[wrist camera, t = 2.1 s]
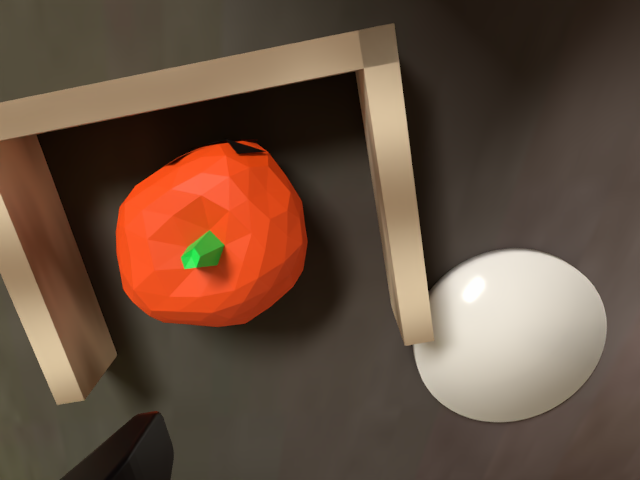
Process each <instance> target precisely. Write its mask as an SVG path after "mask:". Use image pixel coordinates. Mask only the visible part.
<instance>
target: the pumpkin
mask: <svg viewBox="0 0 640 480" xmlns="http://www.w3.org/2000/svg"><path fill="white" fill-rule="evenodd" d="M221 141H222V140H221ZM252 141H256V140H252V139H242V140H228V139H226V141H222V142H219V141H217V142H216V143H215V142H212V144H211V143H207V144H208V145H203V146H199V147H195V148H198V149H195V150H192V151H190V152H189V153H186V154H184V155H182V156H180V157H178V158H176V159H174V160H173V161H171V162H169V163H167V165H166V164H165V166H164V165H163V166H164V167H162V166H161V167H162V168H161V169H159V170H158V171H156V172H155V173H154V174H152V175H151V176H149V177H148V178H146V179H145V180H143V181H142V182H140V183H139V184H137V185H136V186H135V187H134V188H133V190H132V191H131V192H130V194H129V195H128V196H127V198H126V199H125V200H124V202H123V203H122V205H121V206H120V208H119V215H118V222H117V228H116V251H117V258H118V264H119V269H120V274H121V280H122V285H123V290H124V291H125V293H126V294H127V295H128V297H129V298H130V299H131V301H132V302H133V303H135V304H136V305H137V306H138V307H139V308H140V309H141V310H143V311H144V312H145V313H146V314H148V315H149V316H150V317H153V318H155V319H157V320H160V321H162V322H165V323H178V324H191V325H201V326H211V327H222V326H230V325H238V324H245V323H247V322H248V321H250V320H251V319H253V318H254V317H256V316H257V315H259V314H260V313H262V312H263V311H265V310H266V309H268V308H269V307H271V306H272V305H273V304H274V303H275V302H276V301H278V300H279V299H280V298H281V297H282V296H283V295H284V294H286V293H287V292H288V291H289V290H290V289H291V288H292V287H293V286H294V285H295V283H296V281H297V280H298V278H299V276H300V275H301V273H302V271H303V268H304V262H305V256H306V250H307V243H308V240H307V234H306V228H305V221H304V213H303V205H302V200H301V199H300V197H299V196H298V194H297V192H296V191H295V189H294V188H293V186H292V184H291V183H290V181H289V180H288V178H287V176H286V175H285V174H284V172H283V171H282V170H281V168H280V167H279V166H278V164H277V163H276V162H275V160H274V159H273V158H272V156H271V155H270V154H269V152H267V151H266V150H265V149H263V148H262V147H261V146H260V145H258V144H257V143H252ZM191 149H192V148H191ZM181 152H182V151H181Z"/></svg>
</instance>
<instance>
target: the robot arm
mask: <svg viewBox="0 0 640 480" xmlns="http://www.w3.org/2000/svg"><path fill="white" fill-rule="evenodd" d="M173 458H174V452H173V446H172V442H171V439H170V436H169V433H168V430H167V427H166V425H165V422H164V419H163V416H162V415H161V413H159V412H157V411H154V412H148V413H141V414H138V415H136V416H134V417H133V418H132V419H131V420H129V421H128V422H127V423H126V424H125V425H124V426H122V427H121V428H120V429H119V430H118V431H117V432H115V433H114V434H113V435H112V436H111V437H110V438H108V439H107V440H106V441H105V442H104V443H102V444H101V445H100V446H99V447H98V448H97V449H95V450H94V451H93V452H92V453H91V454H90V455H88V456H87V457H86V458H85V459H84V460H82V461H81V462H80V463H79V464H78V465H77V466H75V467H74V468H73V469H72V470H71V471H70V472H68V473H67V474H66V475H65V476H64V477H62V478H61V479H60V480H170V479H171V472H172V465H173Z"/></svg>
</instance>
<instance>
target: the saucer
mask: <svg viewBox="0 0 640 480" xmlns="http://www.w3.org/2000/svg"><path fill="white" fill-rule="evenodd" d="M428 294H429V302H430V310H431V318H432V326H433V334H434V341H431V342H425V343H419V344H413V345H412V347H413V354H414V358H415V362H416V364H417V367H418V370H419V372H420V375H421V378H422V380H423V382H424V383H425V385H426V387H427V388H428V390H429V391H430V392H431V393H432V395H433V396H434V397H435V398H436V399H437V400H438V401H439V402H440V403H442V404H443V405H444V406H446V407H447V408H449V409H450V410H452V411H454V412H456V413H458V414H460V415H462V416H465V417H468V418H471V419H475V420H480V421H487V422H510V421H518V420H523V419H527V418H530V417H534V416H537V415H540V414H542V413H544V412H546V411H549V410H551V409H552V408H554V407H556V406H558V405H559V404H561V403H562V402H564V401H565V400H567V399H568V398H569V397H571V396H572V395H573V394H574V393H575V392H576V391H577V390H578V389H580V387H581V386H582V385H583V384H584V383H585V382H586V381H587V380H588V378H589V377H590V375H591V374H592V372H593V371H594V369H595V367H596V366H597V364H598V362H599V360H600V357H601V355H602V352H603V349H604V345H605V340H606V332H607V322H606V314H605V309H604V305H603V303H602V300H601V298H600V295H599V294H598V292H597V291H596V289H595V287H594V286H593V285H592V283H591V282H590V281H589V280H588V279H587V278H586V277H585V276H584V275H583V274H582V273H581V272H579V271H578V270H577V269H575V268H574V267H573V266H571V265H570V264H568V263H567V262H565V261H563V260H562V259H560V258H559V257H556V256H554V255H552V254H549V253H547V252H543V251H539V250H535V249H528V248H505V249H497V250H493V251H489V252H485V253H482V254H479V255H476V256H474V257H472V258H470V259H468V260H466V261H464V262H462V263H460V264H458V265H457V266H455V267H454V268H452V269H451V270H450V271H448V272H447V273H446V274H445V275H444V276H443V277H441V278H440V279H439V280H438V281H437V283H436V284H435V285H434V286H433V287H432V288H431V289H430V291H429V292H428Z"/></svg>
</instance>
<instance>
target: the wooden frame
mask: <svg viewBox="0 0 640 480" xmlns="http://www.w3.org/2000/svg"><path fill="white" fill-rule="evenodd" d="M350 72H355V73H356V80H357V86H358V93H359V99H360V105H361V112H362V118H363V125H364V131H365V138H366V144H367V151H368V157H369V164H370V170H371V177H372V183H373V190H374V196H375V203H376V209H377V216H378V222H379V229H380V235H381V241H382V248H383V254H384V261H385V267H386V274H387V280H388V287H389V293H390V300H391V306H392V310H393V313H394V316H395V318H396V321H397V324H398V327H399V330H400V333H401V336H402V339H403V341H404V344H405V346H408V345H413V344H419V343H425V342H431V341H434V334H433V326H432V318H431V310H430V302H429V294H428V287H427V279H426V271H425V263H424V255H423V247H422V239H421V231H420V223H419V215H418V207H417V199H416V191H415V184H414V176H413V168H412V160H411V152H410V144H409V136H408V128H407V120H406V112H405V104H404V96H403V88H402V81H401V73H400V65H399V57H398V49H397V41H396V33H395V25H394V23H392V24H387V25H382V26H377V27H372V28H367V29H362V30H357V31H352V32H347V33H342V34H338V35H333V36H328V37H323V38H318V39H313V40H308V41H303V42H298V43H293V44H288V45H283V46H278V47H273V48H268V49H263V50H258V51H253V52H248V53H243V54H238V55H234V56H229V57H224V58H219V59H214V60H209V61H204V62H199V63H194V64H189V65H184V66H179V67H174V68H169V69H164V70H159V71H154V72H149V73H144V74H139V75H134V76H130V77H125V78H120V79H115V80H110V81H105V82H100V83H95V84H90V85H85V86H80V87H75V88H70V89H65V90H60V91H55V92H50V93H45V94H40V95H35V96H30V97H25V98H21V99H16V100H11V101H6V102H1V103H0V273H1V276H2V278H3V280H4V283H5V285H6V287H7V290H8V292H9V294H10V296H11V299H12V301H13V303H14V306H15V308H16V310H17V313H18V315H19V317H20V320H21V322H22V324H23V327H24V329H25V331H26V334H27V336H28V338H29V341H30V343H31V345H32V348H33V350H34V352H35V355H36V357H37V359H38V362H39V364H40V366H41V369H42V371H43V373H44V376H45V378H46V380H47V382H48V385H49V387H50V389H51V392H52V394H53V396H54V399H55V401H56V403H57V405H59V404H65V403H71V402H77V401H83V400H85V399H86V397H87V396H88V395H89V393H90V392H91V391H92V389H93V388H94V386H95V385H96V384H97V382H98V381H99V380H100V378H101V377H102V375H103V374H104V373H105V371H106V370H107V369H108V367H109V366H110V365H111V363H112V362H113V360H114V359H115V358H116V356H117V352H116V350H115V347H114V344H113V342H112V339H111V336H110V333H109V331H108V328H107V325H106V323H105V320H104V317H103V314H102V312H101V309H100V306H99V304H98V301H97V298H96V295H95V293H94V290H93V287H92V285H91V282H90V279H89V276H88V274H87V271H86V268H85V266H84V263H83V260H82V257H81V255H80V252H79V249H78V247H77V244H76V241H75V238H74V236H73V233H72V230H71V228H70V225H69V222H68V219H67V217H66V214H65V211H64V209H63V206H62V203H61V200H60V198H59V195H58V192H57V190H56V187H55V184H54V181H53V179H52V176H51V173H50V171H49V168H48V165H47V162H46V160H45V157H44V154H43V151H42V149H41V146H40V143H39V141H38V138H37V135H36V134H42V133H47V132H52V131H57V130H62V129H67V128H72V127H77V126H82V125H87V124H92V123H97V122H102V121H107V120H112V119H117V118H122V117H127V116H133V115H138V114H143V113H148V112H153V111H158V110H163V109H168V108H173V107H178V106H183V105H188V104H193V103H198V102H203V101H208V100H213V99H218V98H224V97H229V96H234V95H239V94H244V93H249V92H254V91H259V90H264V89H269V88H274V87H279V86H284V85H289V84H294V83H299V82H304V81H309V80H315V79H320V78H325V77H330V76H335V75H340V74H345V73H350Z"/></svg>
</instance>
